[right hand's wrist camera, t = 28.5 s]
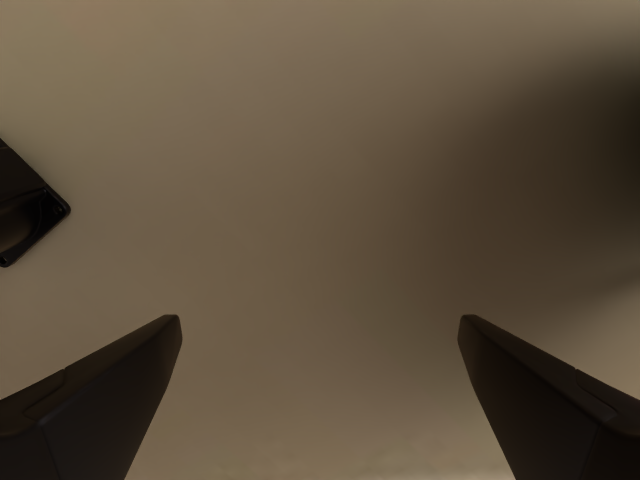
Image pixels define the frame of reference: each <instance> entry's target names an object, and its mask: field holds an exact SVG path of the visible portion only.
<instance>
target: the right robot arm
mask: <svg viewBox="0 0 640 480" xmlns="http://www.w3.org/2000/svg"><path fill="white" fill-rule="evenodd" d="M58 207H60V208H61V209H62V212H60V211H59V209H58ZM70 212H71V209H70V206H69V205H68V204H67V203H66V202H65V201H64V200H63V199H62V198H61V197H60V196H59V195H58V194H57V193H56V192H55V191H54V190H53V189H52V188H51V187H50V186H49V185H48V184H47V183H46V182H45V181H44V180H43V179H42V178H41V177H40V176H39V175H38V174H37V173H36V172H35V171H34V170H33V169H32V168H31V167H30V166H29V165H28V164H27V163H26V162H25V161H24V160H23V159H22V158H21V157H20V156H19V155H18V154H17V153H16V152H15V151H14V150H13V149H11V148H10V147H9V146H8V145H7V144H6V143H5V142H4V141H3V140H2V139H0V266H1V267H8V266H10V265H12V264H14V263H15V262H16V261H17V260H19V259H20V258H21V257H22V256H23V255H24V254H25V253H26V252H28V251H29V250H30V249H31V248H32V247H33V246H34V245H36V244H37V243H38V242H39V241H40V240H41V239H42V238H43V237H45V236H46V235H47V234H48V233H49V232H50V231H51V230H52V229H54V228H55V227H56V226H57V225H58V224H59V223H60V222H61V221H63V220H64V219H65V218H66V217H67V216H68V215H69V214H70ZM4 258H5V259H6V260H7V261H6V260H5V259H4ZM181 345H182V331H181V325H180V319H179V317H178V315H163V316H161V317H159V318H158V319H156V320H154V321H152V322H150V323H148V324H146V325H144V326H142V327H141V328H139V329H137V330H135V331H133V332H131V333H129V334H127V335H126V336H124V337H122V338H120V339H118V340H116V341H114V342H112V343H111V344H109V345H107V346H105V347H103V348H101V349H99V350H97V351H96V352H94V353H92V354H90V355H88V356H86V357H84V358H82V359H80V360H79V361H77V362H75V363H73V364H71V365H69V366H67V367H66V368H65V370H64V369H62V370H60V371H58V372H56V373H54V374H52V375H50V376H48V377H46V378H45V379H43V380H41V381H39V382H37V383H35V384H33V385H31V386H29V387H27V388H25V389H23V390H21V391H18V392H16V393H14V394H12V395H10V396H8V397H6V398H4V399H2V400H0V480H124V479H125V477H126V475H127V472H128V470H129V468H130V466H131V464H132V462H133V460H134V457H135V455H136V453H137V451H138V449H139V447H140V445H141V442H142V440H143V438H144V436H145V434H146V432H147V430H148V427H149V425H150V423H151V421H152V419H153V417H154V415H155V412H156V410H157V408H158V406H159V404H160V402H161V400H162V397H163V395H164V393H165V391H166V389H167V386H168V384H169V381H170V378H171V375H172V372H173V369H174V366H175V363H176V360H177V357H178V354H179V351H180V348H181ZM458 345H459V348H460V351H461V354H462V357H463V360H464V363H465V366H466V369H467V372H468V375H469V378H470V381H471V384H472V386H473V388H474V391H475V393H476V395H477V397H478V400H479V402H480V404H481V406H482V408H483V410H484V412H485V415H486V417H487V419H488V421H489V423H490V425H491V427H492V430H493V432H494V434H495V436H496V438H497V440H498V442H499V445H500V447H501V449H502V451H503V453H504V455H505V457H506V460H507V462H508V464H509V466H510V468H511V470H512V472H513V475H514V477H515V479H516V480H640V400H638V399H636V398H634V397H632V396H630V395H628V394H626V393H624V392H622V391H619V390H617V389H615V388H613V387H611V386H609V385H607V384H605V383H603V382H601V381H599V380H597V379H595V378H594V377H592V376H590V375H588V374H586V373H584V372H582V371H580V370H578V369H576V370H575V368H574V367H573V366H571V365H569V364H567V363H565V362H563V361H561V360H560V359H558V358H556V357H554V356H552V355H550V354H548V353H546V352H544V351H543V350H541V349H539V348H537V347H535V346H533V345H531V344H529V343H528V342H526V341H524V340H522V339H520V338H518V337H516V336H514V335H513V334H511V333H509V332H507V331H505V330H503V329H501V328H499V327H498V326H496V325H494V324H492V323H490V322H488V321H486V320H484V319H482V318H481V317H479V316H477V315H462V317H461V319H460V325H459V331H458Z"/></svg>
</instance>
